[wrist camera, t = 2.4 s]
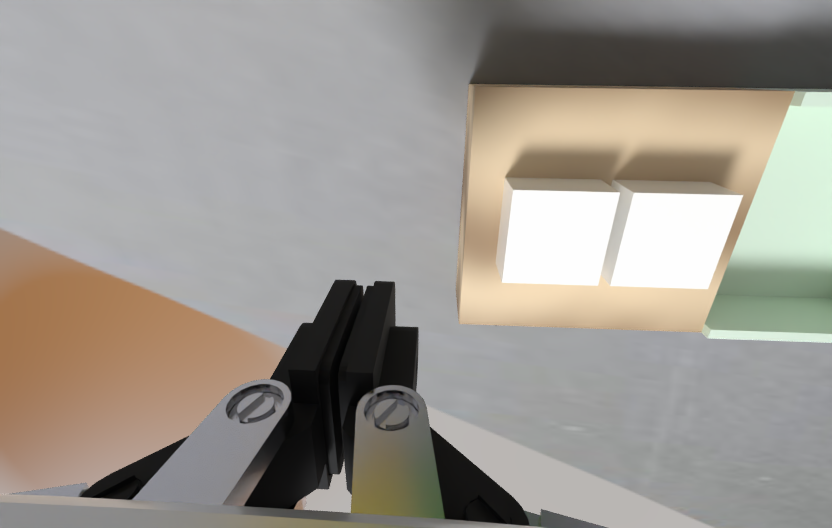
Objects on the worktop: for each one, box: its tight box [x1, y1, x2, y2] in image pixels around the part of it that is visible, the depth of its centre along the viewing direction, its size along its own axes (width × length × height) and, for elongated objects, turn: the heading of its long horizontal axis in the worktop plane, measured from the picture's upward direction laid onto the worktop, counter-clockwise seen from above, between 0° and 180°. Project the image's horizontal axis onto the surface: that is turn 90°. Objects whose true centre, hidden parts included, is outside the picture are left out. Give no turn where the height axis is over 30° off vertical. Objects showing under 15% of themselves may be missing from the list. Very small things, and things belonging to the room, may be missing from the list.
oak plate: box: [456, 84, 795, 332], centre depth 19 cm, size 11×12×4 cm
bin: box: [702, 88, 832, 343], centre depth 19 cm, size 11×9×4 cm
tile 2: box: [601, 180, 743, 289], centre depth 17 cm, size 4×4×2 cm
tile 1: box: [496, 177, 620, 286], centre depth 17 cm, size 4×4×2 cm
